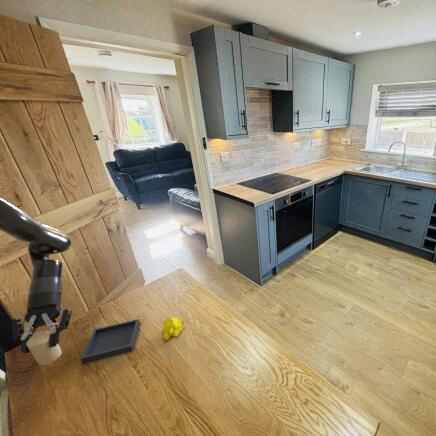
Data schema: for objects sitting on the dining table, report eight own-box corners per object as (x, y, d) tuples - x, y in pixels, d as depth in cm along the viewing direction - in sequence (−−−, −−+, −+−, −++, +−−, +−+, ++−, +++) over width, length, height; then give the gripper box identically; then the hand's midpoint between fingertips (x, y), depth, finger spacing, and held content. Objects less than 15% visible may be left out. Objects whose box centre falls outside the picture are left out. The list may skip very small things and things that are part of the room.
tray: (82, 363, 79) (80, 359, 78) (96, 333, 90) (94, 328, 89) (132, 350, 84) (131, 345, 83) (140, 323, 95) (138, 318, 94)
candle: (34, 360, 74) (20, 338, 70) (57, 346, 78) (45, 324, 74) (42, 368, 72) (28, 346, 68) (65, 354, 76) (53, 331, 72)
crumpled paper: (186, 324, 95) (182, 309, 91) (172, 341, 87) (168, 326, 84) (173, 321, 96) (169, 306, 93) (159, 337, 89) (154, 322, 85)
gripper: (6, 296, 71) (-3, 359, 66) (66, 286, 75) (62, 344, 70) (25, 298, 78) (18, 355, 72) (79, 289, 82) (76, 341, 77)
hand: (39, 349), depth 71 cm, fingers closed on candle, 5 cm apart
